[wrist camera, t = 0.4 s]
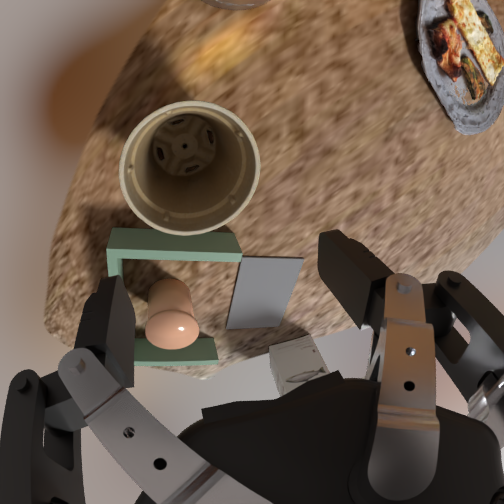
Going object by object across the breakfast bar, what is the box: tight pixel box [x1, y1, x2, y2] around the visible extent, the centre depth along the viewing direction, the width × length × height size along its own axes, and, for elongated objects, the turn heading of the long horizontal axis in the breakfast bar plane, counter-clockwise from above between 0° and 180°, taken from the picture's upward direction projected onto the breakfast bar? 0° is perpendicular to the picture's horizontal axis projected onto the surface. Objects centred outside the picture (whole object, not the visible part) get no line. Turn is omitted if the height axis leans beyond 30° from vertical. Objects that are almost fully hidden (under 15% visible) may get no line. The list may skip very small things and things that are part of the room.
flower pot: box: [119, 101, 260, 236], centre depth 22 cm, size 9×9×9 cm
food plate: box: [415, 0, 504, 135], centre depth 23 cm, size 25×23×4 cm
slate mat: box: [226, 257, 304, 329], centre depth 38 cm, size 12×8×1 cm, turn 168°
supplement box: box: [269, 334, 330, 396], centre depth 42 cm, size 7×7×13 cm
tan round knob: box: [145, 279, 199, 349], centre depth 32 cm, size 6×6×6 cm
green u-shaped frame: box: [106, 228, 243, 366], centre depth 33 cm, size 18×13×4 cm
